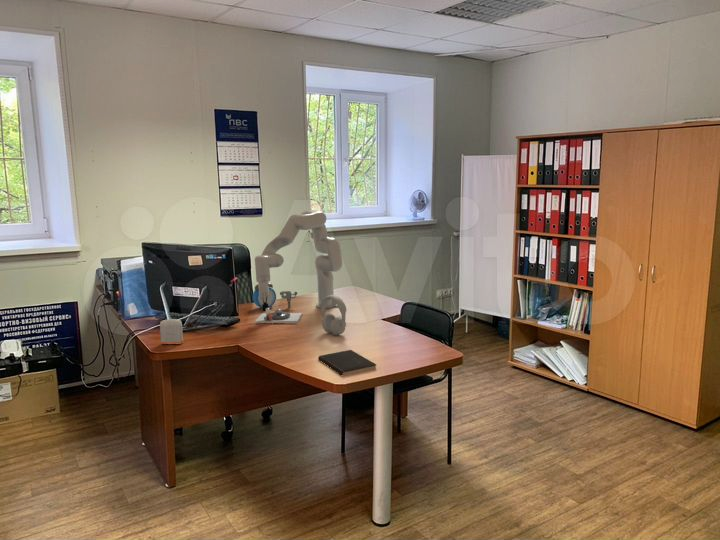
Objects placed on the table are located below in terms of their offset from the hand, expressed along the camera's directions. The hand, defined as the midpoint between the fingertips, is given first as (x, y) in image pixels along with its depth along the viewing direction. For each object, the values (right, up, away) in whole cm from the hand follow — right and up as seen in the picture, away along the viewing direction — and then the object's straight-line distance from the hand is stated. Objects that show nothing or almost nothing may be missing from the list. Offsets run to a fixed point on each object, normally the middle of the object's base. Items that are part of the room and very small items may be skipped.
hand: (265, 310), depth 303 cm
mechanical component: (+9, -1, +30) cm, 31 cm away
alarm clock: (-6, -1, +32) cm, 32 cm away
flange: (+6, -4, +2) cm, 7 cm away
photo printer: (-39, -14, -37) cm, 55 cm away
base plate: (+7, -5, +4) cm, 9 cm away
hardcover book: (+46, -18, -70) cm, 86 cm away
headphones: (+39, -10, -26) cm, 48 cm away
